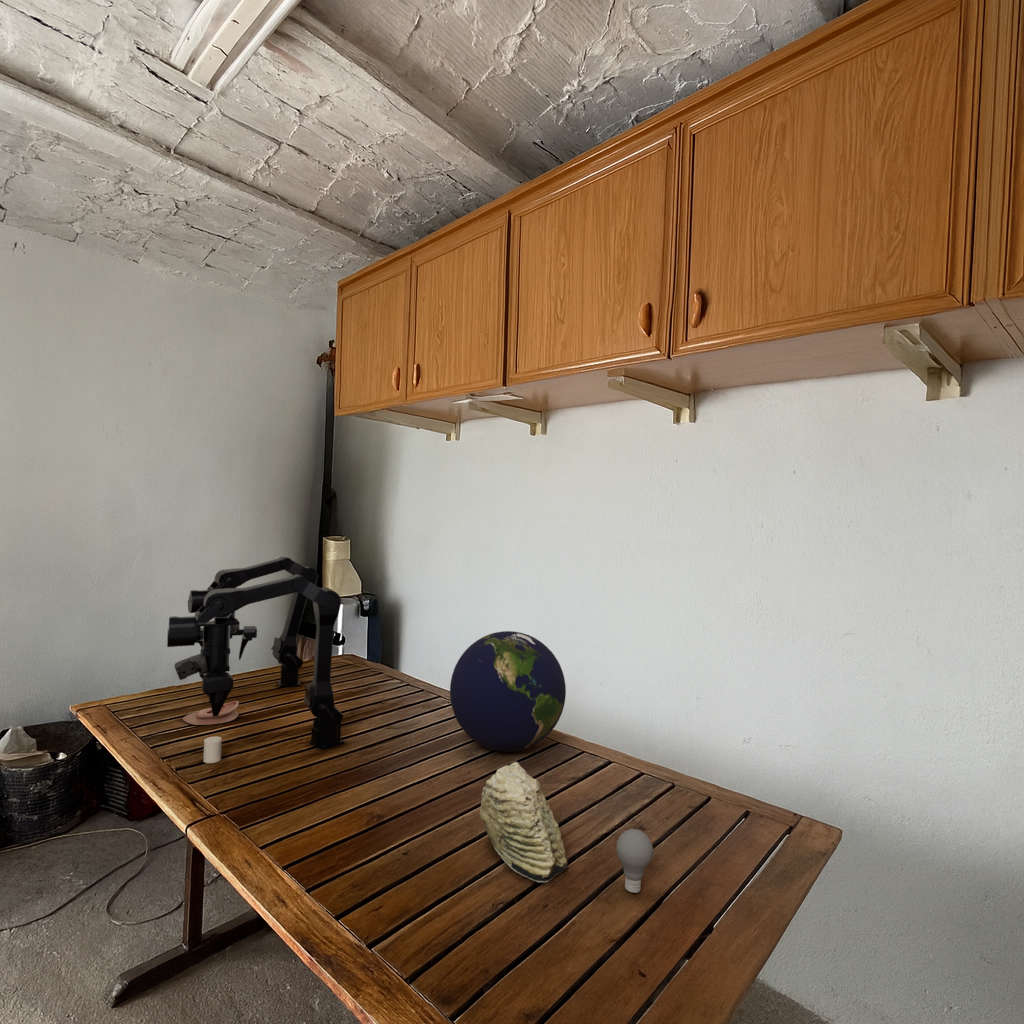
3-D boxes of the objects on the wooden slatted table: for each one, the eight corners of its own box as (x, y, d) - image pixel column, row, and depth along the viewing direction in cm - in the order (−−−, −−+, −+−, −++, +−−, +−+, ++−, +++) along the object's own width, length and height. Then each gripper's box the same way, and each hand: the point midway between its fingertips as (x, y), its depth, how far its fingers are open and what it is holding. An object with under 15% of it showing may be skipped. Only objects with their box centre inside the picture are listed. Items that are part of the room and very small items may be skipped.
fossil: (501, 827, 124) (504, 751, 124) (575, 868, 111) (578, 784, 111) (467, 843, 118) (470, 763, 118) (541, 889, 105) (545, 799, 105)
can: (200, 763, 147) (201, 742, 147) (207, 756, 151) (207, 736, 151) (217, 763, 148) (218, 742, 148) (223, 756, 151) (224, 736, 151)
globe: (494, 719, 185) (499, 617, 185) (584, 745, 168) (589, 633, 167) (423, 749, 161) (428, 631, 160) (519, 784, 143) (525, 652, 143)
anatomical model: (175, 707, 171) (204, 695, 183) (174, 722, 172) (203, 709, 183) (218, 713, 169) (245, 700, 180) (218, 728, 169) (244, 714, 180)
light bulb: (610, 879, 108) (613, 822, 108) (644, 879, 109) (647, 822, 109) (619, 902, 102) (622, 840, 102) (655, 901, 103) (658, 840, 103)
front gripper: (176, 637, 153) (174, 701, 153) (178, 656, 137) (176, 727, 137) (226, 634, 159) (224, 696, 159) (234, 652, 142) (232, 721, 143)
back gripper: (189, 616, 186) (187, 669, 186) (257, 614, 193) (256, 665, 194) (192, 609, 196) (190, 659, 197) (257, 608, 204) (255, 656, 204)
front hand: (213, 709), depth 149 cm, fingers open, 9 cm apart
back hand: (223, 660), depth 197 cm, fingers open, 9 cm apart
